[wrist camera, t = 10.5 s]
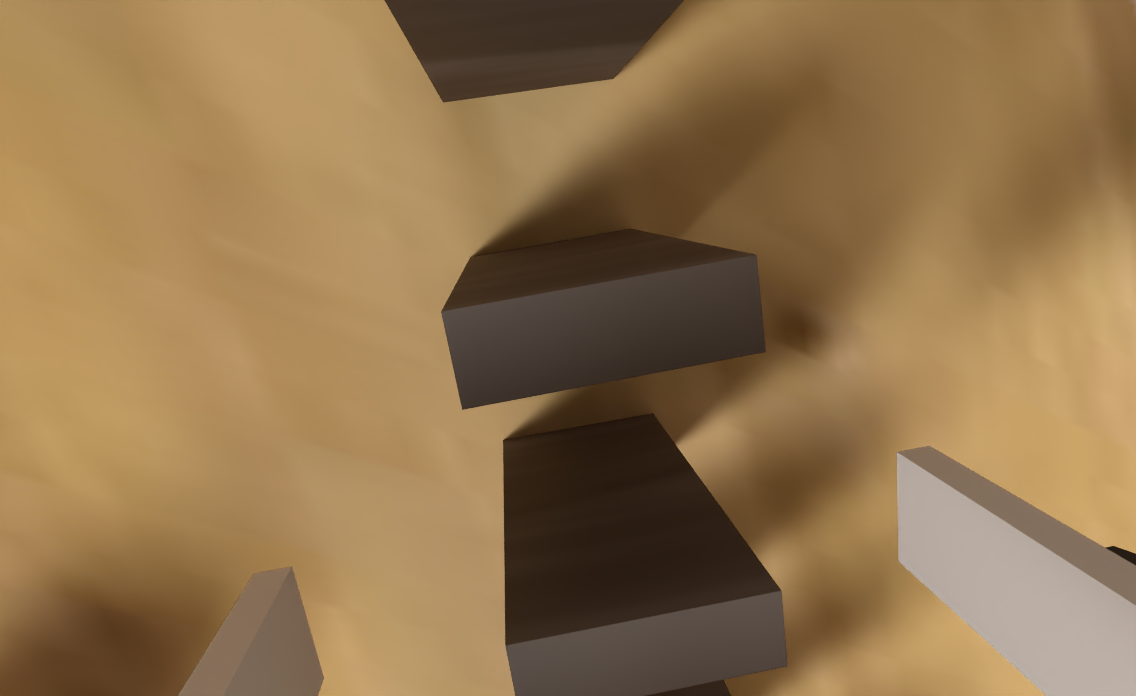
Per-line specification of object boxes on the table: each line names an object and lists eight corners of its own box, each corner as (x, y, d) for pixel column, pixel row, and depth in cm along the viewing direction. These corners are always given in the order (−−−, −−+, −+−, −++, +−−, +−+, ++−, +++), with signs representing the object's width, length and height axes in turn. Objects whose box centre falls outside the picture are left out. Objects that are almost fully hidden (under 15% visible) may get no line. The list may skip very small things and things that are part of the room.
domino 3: (503, 440, 21) (505, 645, 11) (652, 413, 21) (781, 590, 12) (511, 485, 21) (520, 721, 12) (658, 458, 22) (787, 666, 12)
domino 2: (470, 256, 20) (441, 312, 10) (630, 228, 20) (756, 254, 10) (480, 308, 20) (462, 409, 10) (637, 279, 20) (765, 352, 10)
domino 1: (432, 42, 18) (353, -144, 8) (606, 19, 18) (723, -185, 9) (442, 102, 18) (379, -10, 9) (613, 78, 19) (733, -54, 9)
